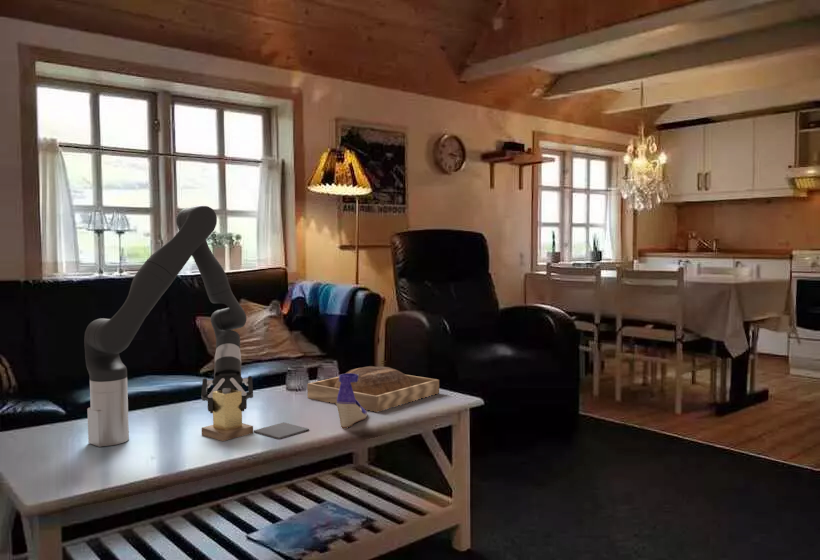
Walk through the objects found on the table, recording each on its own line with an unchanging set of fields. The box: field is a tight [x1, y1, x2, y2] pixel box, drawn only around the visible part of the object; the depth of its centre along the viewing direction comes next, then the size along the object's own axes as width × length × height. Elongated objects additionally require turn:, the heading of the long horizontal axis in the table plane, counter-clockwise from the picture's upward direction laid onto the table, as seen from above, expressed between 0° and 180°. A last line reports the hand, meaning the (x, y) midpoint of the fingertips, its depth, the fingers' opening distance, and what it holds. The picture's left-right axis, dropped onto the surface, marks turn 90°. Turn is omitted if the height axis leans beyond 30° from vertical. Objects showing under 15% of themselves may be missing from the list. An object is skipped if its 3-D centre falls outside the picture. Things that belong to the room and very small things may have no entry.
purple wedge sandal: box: [335, 373, 368, 429], centre depth 201 cm, size 8×20×15 cm, turn 165°
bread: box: [334, 365, 411, 396], centre depth 236 cm, size 26×27×10 cm
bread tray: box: [306, 373, 440, 413], centre depth 233 cm, size 33×32×5 cm
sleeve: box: [212, 389, 243, 431], centre depth 187 cm, size 6×6×10 cm
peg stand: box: [201, 388, 254, 442], centre depth 187 cm, size 10×10×13 cm
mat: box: [253, 422, 310, 440], centre depth 190 cm, size 11×11×1 cm
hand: (227, 410), depth 186 cm, fingers closed on sleeve, 8 cm apart
